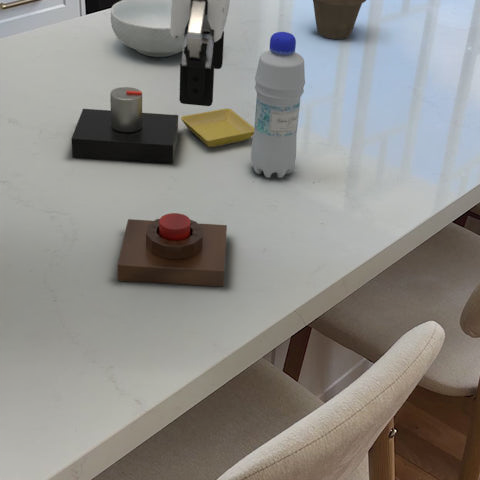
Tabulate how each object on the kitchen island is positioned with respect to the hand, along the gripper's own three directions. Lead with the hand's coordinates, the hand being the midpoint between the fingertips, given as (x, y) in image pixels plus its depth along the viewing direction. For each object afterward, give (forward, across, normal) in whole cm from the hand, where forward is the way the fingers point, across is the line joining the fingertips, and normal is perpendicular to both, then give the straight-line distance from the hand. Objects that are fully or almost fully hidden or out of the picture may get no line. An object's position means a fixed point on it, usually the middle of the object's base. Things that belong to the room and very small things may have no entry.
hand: (201, 84), depth 91 cm
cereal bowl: (+23, -69, -15) cm, 74 cm away
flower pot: (+23, -86, +17) cm, 91 cm away
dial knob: (+20, -30, -14) cm, 39 cm away
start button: (+19, -2, -3) cm, 20 cm away
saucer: (+23, -36, -1) cm, 43 cm away
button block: (+23, -2, -3) cm, 23 cm away
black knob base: (+23, -30, -14) cm, 40 cm away
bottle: (+23, -26, +8) cm, 36 cm away
